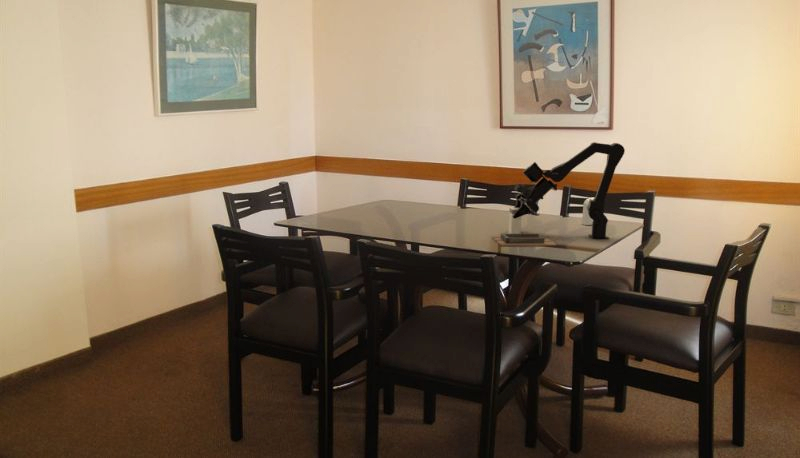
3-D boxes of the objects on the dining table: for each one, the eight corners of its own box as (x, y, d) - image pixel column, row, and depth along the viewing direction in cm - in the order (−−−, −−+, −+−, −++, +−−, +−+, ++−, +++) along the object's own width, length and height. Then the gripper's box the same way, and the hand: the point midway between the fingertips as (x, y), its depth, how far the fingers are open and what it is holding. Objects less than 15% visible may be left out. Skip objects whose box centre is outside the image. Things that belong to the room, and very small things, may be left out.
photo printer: (595, 222, 328) (597, 196, 326) (603, 224, 325) (605, 197, 322) (580, 224, 323) (582, 197, 320) (587, 226, 319) (589, 198, 317)
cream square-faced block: (520, 235, 294) (522, 209, 292) (511, 235, 294) (512, 209, 292) (517, 233, 299) (519, 207, 297) (508, 233, 299) (509, 207, 296)
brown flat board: (556, 246, 275) (557, 240, 274) (501, 246, 273) (501, 240, 272) (544, 237, 291) (545, 231, 290) (492, 237, 289) (492, 231, 288)
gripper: (520, 174, 301) (494, 199, 302) (532, 179, 283) (504, 206, 284) (538, 192, 303) (511, 217, 305) (550, 199, 285) (522, 226, 286)
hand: (512, 216), depth 295 cm, fingers closed on cream square-faced block, 5 cm apart
